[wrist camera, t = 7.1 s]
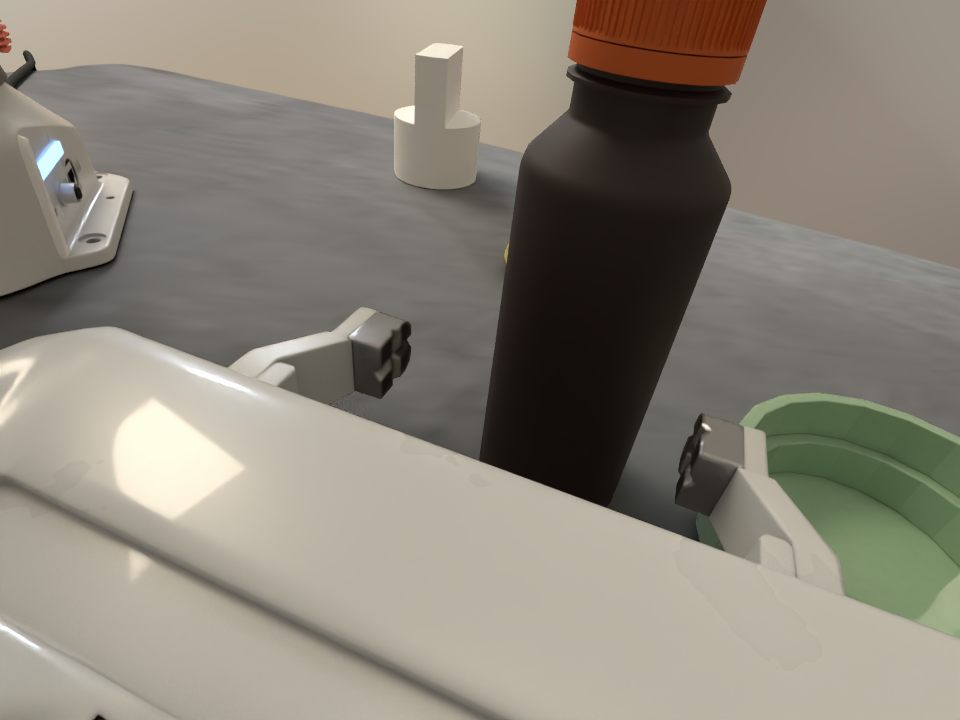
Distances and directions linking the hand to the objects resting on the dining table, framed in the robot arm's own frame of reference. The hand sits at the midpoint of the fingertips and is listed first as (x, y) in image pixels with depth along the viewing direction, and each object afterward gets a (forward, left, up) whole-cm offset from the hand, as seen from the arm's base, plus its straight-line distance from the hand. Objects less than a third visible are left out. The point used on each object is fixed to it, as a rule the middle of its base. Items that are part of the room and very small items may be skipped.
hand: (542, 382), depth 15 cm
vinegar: (-6, +4, -11) cm, 13 cm away
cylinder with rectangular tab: (-48, +3, -11) cm, 49 cm away
